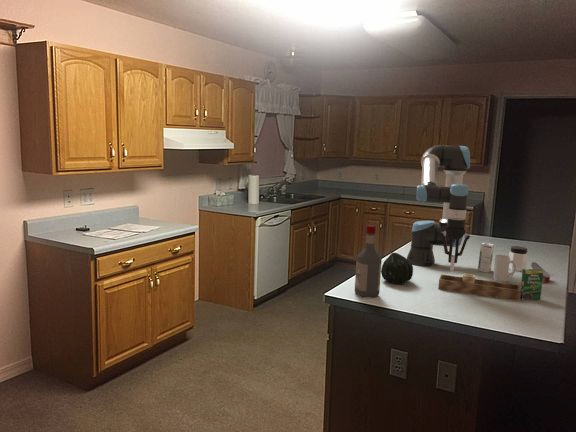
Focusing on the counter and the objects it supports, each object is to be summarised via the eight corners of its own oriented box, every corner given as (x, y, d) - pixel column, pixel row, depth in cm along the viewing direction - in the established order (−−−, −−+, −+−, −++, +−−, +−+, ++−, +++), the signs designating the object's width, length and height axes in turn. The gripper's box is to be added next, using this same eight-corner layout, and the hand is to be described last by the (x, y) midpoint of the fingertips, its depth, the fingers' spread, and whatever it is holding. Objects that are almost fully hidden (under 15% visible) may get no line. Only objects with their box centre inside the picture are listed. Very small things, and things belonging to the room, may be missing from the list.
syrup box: (479, 268, 258) (482, 242, 256) (491, 270, 255) (494, 243, 253) (477, 271, 253) (480, 244, 251) (489, 272, 250) (492, 245, 248)
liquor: (361, 298, 201) (366, 228, 196) (352, 291, 210) (356, 224, 205) (381, 297, 204) (386, 227, 199) (371, 290, 212) (376, 223, 208)
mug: (491, 279, 237) (493, 256, 235) (494, 277, 243) (496, 253, 241) (513, 283, 231) (516, 259, 230) (516, 280, 237) (518, 257, 235)
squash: (422, 270, 228) (403, 244, 231) (413, 279, 215) (393, 251, 218) (399, 285, 235) (381, 260, 238) (389, 294, 222) (370, 267, 225)
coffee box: (522, 299, 208) (525, 270, 206) (518, 297, 211) (522, 268, 209) (540, 300, 208) (544, 270, 206) (537, 298, 211) (540, 268, 209)
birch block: (461, 285, 216) (462, 275, 216) (462, 282, 221) (463, 273, 220) (473, 287, 215) (474, 277, 214) (474, 284, 219) (475, 274, 218)
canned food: (537, 286, 245) (547, 269, 245) (548, 290, 235) (559, 273, 235) (518, 275, 245) (528, 258, 244) (529, 279, 235) (539, 261, 234)
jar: (519, 272, 254) (521, 250, 252) (504, 268, 261) (507, 246, 259) (528, 270, 259) (531, 248, 257) (514, 266, 266) (516, 245, 264)
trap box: (438, 289, 218) (439, 279, 218) (440, 283, 227) (441, 274, 227) (519, 300, 206) (521, 290, 205) (518, 294, 214) (519, 284, 214)
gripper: (440, 218, 215) (436, 269, 218) (471, 221, 210) (466, 273, 213) (442, 216, 222) (437, 266, 225) (472, 219, 217) (467, 269, 220)
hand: (451, 269), depth 219 cm, fingers closed
